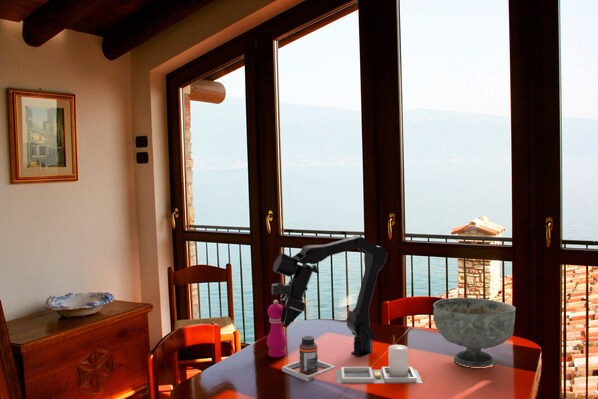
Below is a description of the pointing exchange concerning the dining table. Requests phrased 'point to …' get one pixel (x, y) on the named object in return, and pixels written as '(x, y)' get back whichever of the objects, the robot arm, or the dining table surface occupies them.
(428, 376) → the dining table surface
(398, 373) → the white peg
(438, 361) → the dining table surface
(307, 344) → the supplement bottle
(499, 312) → the decorative bowl
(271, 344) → the pepper mill
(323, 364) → the white square frame
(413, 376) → the gray rectangular frame
